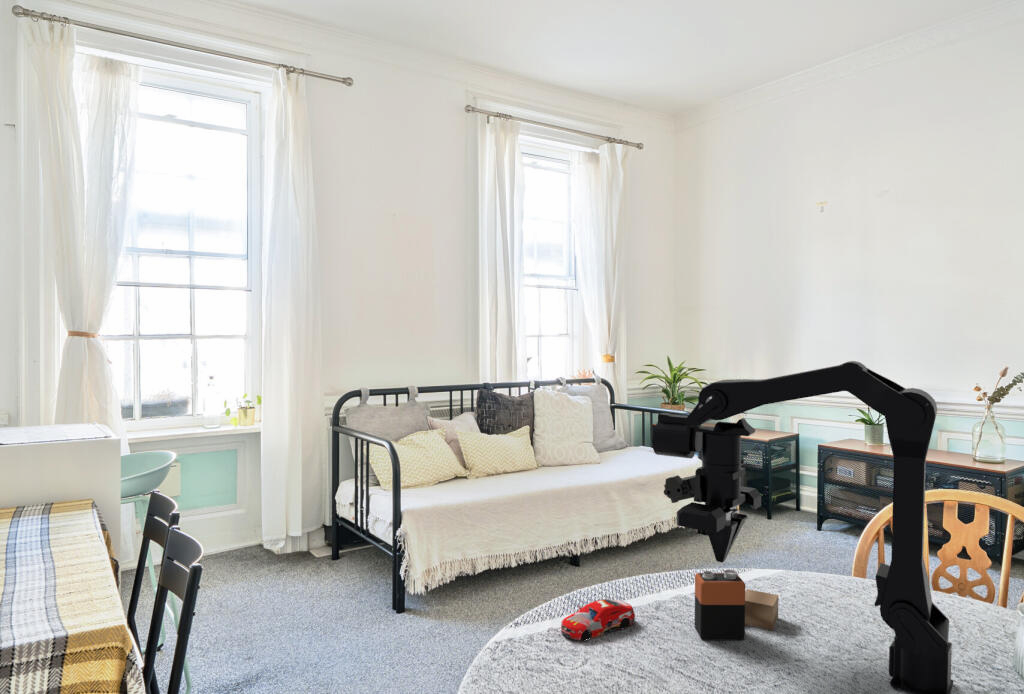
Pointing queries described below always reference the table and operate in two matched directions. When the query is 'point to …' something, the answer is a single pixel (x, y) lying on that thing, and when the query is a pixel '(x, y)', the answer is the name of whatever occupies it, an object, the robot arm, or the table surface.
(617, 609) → the race car
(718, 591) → the battery
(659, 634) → the table surface
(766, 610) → the walnut block
